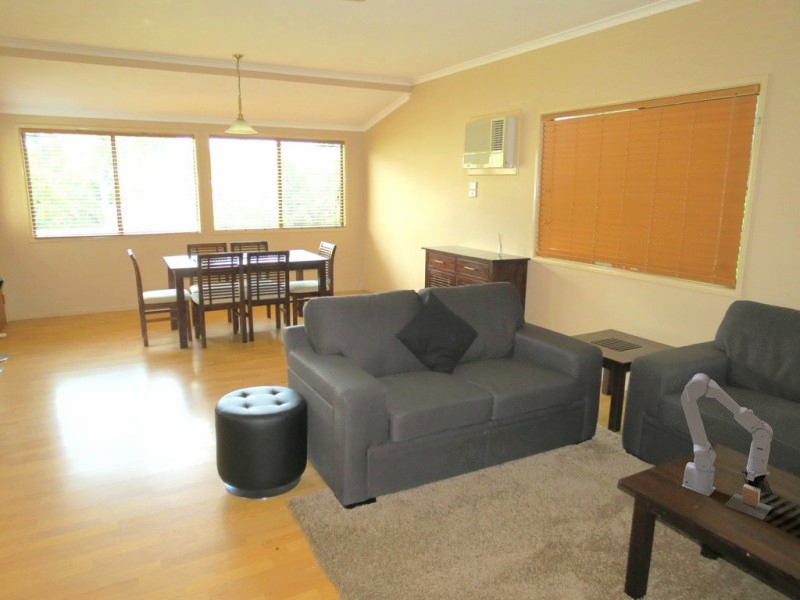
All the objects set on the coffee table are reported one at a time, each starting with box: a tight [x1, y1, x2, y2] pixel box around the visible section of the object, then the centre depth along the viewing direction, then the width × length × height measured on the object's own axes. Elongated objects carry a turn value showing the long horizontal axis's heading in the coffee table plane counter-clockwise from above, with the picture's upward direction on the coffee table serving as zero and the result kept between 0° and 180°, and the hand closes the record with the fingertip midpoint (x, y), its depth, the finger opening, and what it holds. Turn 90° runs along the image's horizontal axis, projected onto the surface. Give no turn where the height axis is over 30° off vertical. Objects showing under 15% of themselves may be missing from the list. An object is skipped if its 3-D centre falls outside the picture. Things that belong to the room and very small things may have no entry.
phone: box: [741, 470, 772, 495], centre depth 216 cm, size 8×1×15 cm
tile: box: [741, 483, 761, 508], centre depth 200 cm, size 5×2×7 cm, turn 43°
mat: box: [724, 492, 773, 521], centre depth 200 cm, size 12×12×1 cm
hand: (752, 491), depth 201 cm, fingers closed
